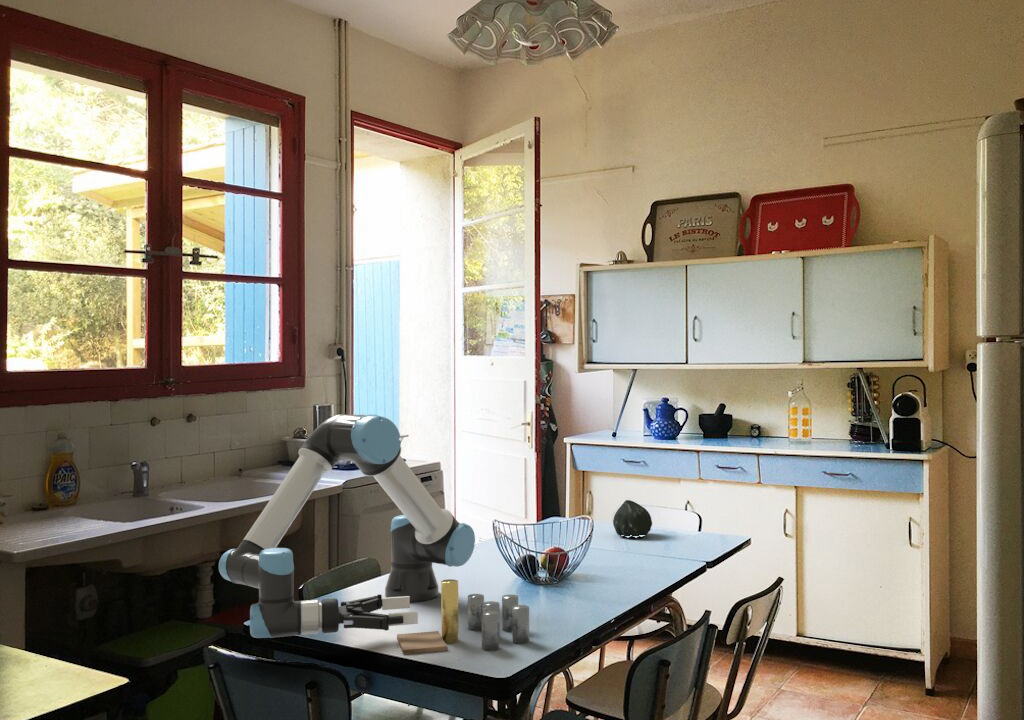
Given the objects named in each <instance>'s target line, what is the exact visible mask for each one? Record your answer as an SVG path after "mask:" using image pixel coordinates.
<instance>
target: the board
mask: <svg viewBox="0 0 1024 720" xmlns="http://www.w3.org/2000/svg"><path fill="white" fill-rule="evenodd" d="M396 641H397V643H398V646H399V647H400V650H401V652H403V653H402V655H410V654H411V655H412V653H414V654H422V652H425V653H434V651H437V652H445V651H448V650H447V649H448V645H447V643H445V642H444V640H443V639H442V634H440V632H439V631H438V630H435V631H434V630H433V631H423V632H410V633H401V634H400V633H398V634H396Z"/></svg>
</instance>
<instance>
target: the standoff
mask: <svg viewBox="0 0 1024 720" xmlns="http://www.w3.org/2000/svg"><path fill="white" fill-rule="evenodd" d="M440 582H441V583H440V586H441V587H440V591H441V593H440V594H441V598H440V599H441V600H440V601H441V602H440V604H441V605H440V606H441V609H440V610H441V620H440V621H441V637H442V639H443V640H444V642H445V644H456V643H458V642H459V641H460V640H459V639H460V638H459V580H458V579H450V578H449V579H443V580H442V581H440Z"/></svg>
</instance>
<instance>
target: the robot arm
mask: <svg viewBox="0 0 1024 720" xmlns="http://www.w3.org/2000/svg"><path fill="white" fill-rule="evenodd" d="M400 438H401V434H400V431H399V429H398V426H396V424H395V423H394V422H393V421H392V420H391V419H389V418H387V417H385V416H381V415H377V414H348V413H341V414H336V415H333V416H330V417H329V418H327V419H326V420H324V421H323V422H322V423H320V425H318V426H317V427H316V428H315V429H314V430H313V431H312V433H310V434H309V436H308V437H307V438H306V439H305V441H304V442H303V444H302V445H301V447H300V448H299V449H298V452H297V454H298V457H297V460H296V461H295V462H294V464H293V465H292V467H291V468H290V470H289V472H288V473H287V474H286V476H285V477H284V479H283V480H282V482H281V483H280V484H279V486H278V488H276V489H277V490H276V491H275V492H274V493H273V495H272V496H271V498H270V499H269V501H268V502H267V504H266V505H265V507H264V508H263V510H262V512H261V513H260V514H259V516H258V517H257V519H256V520H255V521H254V523H253V525H251V527H250V529H249V531H248V532H247V534H246V535H245V537H244V538H243V539H242V541H241V542H240V543H239V545H238V546H237V548H231V549H229V550H227V551H226V552H224V553H223V554H221V557H220V558H219V562H218V572H219V573H220V576H221V577H222V578H223V579H224V580H226V581H229V582H230V583H231V582H232V583H233V584H236V585H237V584H238V585H244V586H246V587H247V586H248V587H250V588H251V587H252V588H255V589H258V602H257V603H253V604H251V605H250V609H249V633H250V636H251V637H252V638H256V639H263V638H264V639H266V638H267V639H268V638H270V639H273V638H280V637H281V638H282V637H283V638H284V637H292V636H305V637H307V638H308V637H310V636H311V635H318V634H319V633H320V632H321V633H323V634H330V633H331V634H332V633H337V632H339V624H343V629H369V630H384V631H389V630H390V627H394V626H395V627H396V626H408V625H409V626H410V625H418V624H419V622H418V621H419V617H418V616H419V615H418V614H419V613H418V610H413V611H400V612H389V613H388V614H383V613H377V612H375V611H377V610H381V609H382V611H387V610H400V609H401V610H402V609H410V608H411V607H410V604H411V602H413V603H414V602H422V601H427V600H431V599H434V598H437V597H438V596H439V589H440V588H439V583H438V581H437V577H436V575H435V571H434V568H433V564H438V565H444V566H448V567H457V568H458V567H461V566H464V565H465V564H466V563H467V562H468V561H469V560H470V559H471V558H472V555H473V553H474V549H475V543H476V536H475V531H474V528H473V527H472V526H471V525H470V524H467V523H465V522H462V523H461V522H459V521H458V520H457V519H456V518H455V516H454V515H453V514H452V512H450V510H448V509H445V508H441V507H440V506H439V505H438V503H437V502H436V500H434V498H433V497H432V495H431V494H430V493H429V491H428V490H427V489H426V487H425V486H424V485H423V484H422V482H421V481H420V479H419V478H418V477H417V476H416V474H415V472H414V471H412V469H411V468H410V466H409V465H408V464H407V462H406V461H405V460H404V459H403V457H402V456H401V453H402V447H401V444H402V442H401V440H400ZM341 461H349V462H353V463H354V465H355V466H356V467H357V468H358V469H359V470H360V472H361V473H362V474H363V475H364V476H366V477H373V478H374V479H375V481H376V482H377V483H378V484H379V485H380V487H381V488H382V489H383V490H384V492H385V493H386V494H387V496H388V497H390V500H392V502H393V503H394V504H395V506H396V507H397V508H398V509H399V511H401V513H402V514H400V515H396V516H394V517H393V518H392V519H391V523H390V561H391V564H390V565H391V567H390V572H389V575H388V578H387V580H386V585H385V588H384V597H382V596H383V595H382V594H377V595H374V596H368V597H363V598H360V599H359V598H358V599H354V600H349V601H348V600H347V601H341V602H340V606H339V600H338V598H322V600H321V601H320V600H319V598H317V599H307V600H305V599H304V600H294V575H295V573H294V571H295V565H294V553H293V551H292V550H291V549H290V548H287V547H278V546H279V544H280V543H281V540H282V539H283V537H284V536H285V534H286V533H287V531H288V530H289V528H290V527H291V525H292V523H293V522H294V521H295V519H296V517H297V516H298V515H299V513H300V511H301V510H302V509H303V507H304V505H305V504H306V502H307V501H308V499H309V497H310V496H311V494H312V493H313V491H315V489H316V487H317V485H318V484H319V483H320V481H321V479H322V478H323V476H324V475H325V474H326V473H330V472H332V469H333V468H335V465H336V464H338V463H339V462H341Z"/></svg>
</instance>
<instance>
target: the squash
mask: <svg viewBox="0 0 1024 720" xmlns="http://www.w3.org/2000/svg"><path fill="white" fill-rule="evenodd" d="M652 520H653V519H652V516H651V514H650V512H649V511H648V510H647V509H646V508H645V507H644V506H642V505H641V504H639V503H637V502H635V501H632V500H630V499H625V501H623V503H622V504H621V505H620V507H618V509H617V510H616V512H615V513H614V516H613V519H612V522H613V523H612V524H613V527H614V529H615V532H616V534H617V536H619V535H624V536H630V535H632V536H639V535H646V536H647V535H648V533H649V532H651V530H652V526H653V521H652Z"/></svg>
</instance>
